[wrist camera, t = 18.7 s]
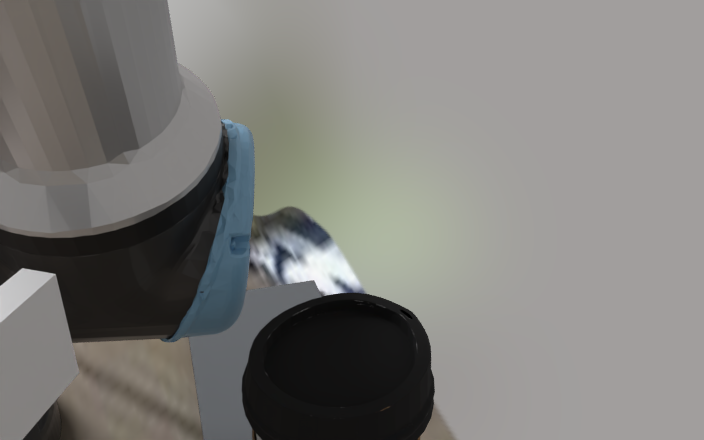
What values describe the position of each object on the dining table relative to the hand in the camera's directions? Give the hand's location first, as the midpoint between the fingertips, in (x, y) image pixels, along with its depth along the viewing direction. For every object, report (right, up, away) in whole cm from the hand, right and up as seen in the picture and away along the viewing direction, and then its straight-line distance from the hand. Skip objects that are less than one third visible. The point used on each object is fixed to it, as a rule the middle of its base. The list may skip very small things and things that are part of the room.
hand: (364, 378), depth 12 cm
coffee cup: (-1, -15, +20) cm, 25 cm away
